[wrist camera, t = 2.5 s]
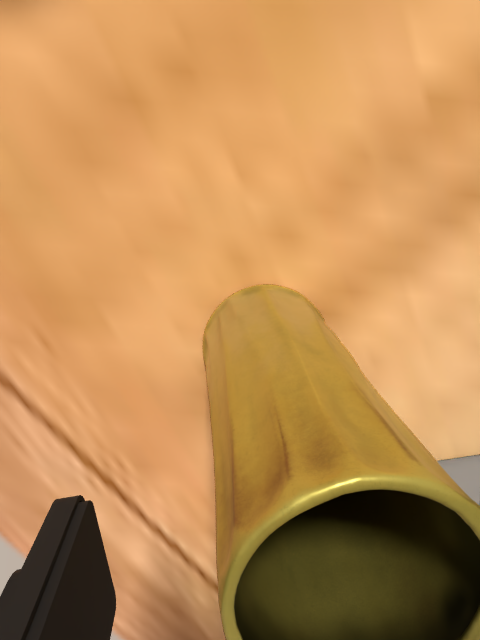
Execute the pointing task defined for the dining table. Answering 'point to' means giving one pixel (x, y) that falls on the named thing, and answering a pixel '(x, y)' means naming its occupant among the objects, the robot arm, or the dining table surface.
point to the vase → (326, 491)
